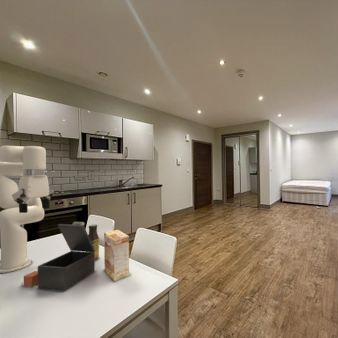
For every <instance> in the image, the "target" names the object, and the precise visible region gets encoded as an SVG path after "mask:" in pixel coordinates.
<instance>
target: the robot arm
mask: <svg viewBox="0 0 338 338" xmlns="http://www.w3.org/2000/svg"><path fill="white" fill-rule="evenodd" d="M47 173H48V170H47V151H46V148H45V147H43V146H37V145H25V146H21V145H1V146H0V208H1V209H3V210H1V211H0V274H7V273H11V272H15V271H18V270H22V269H24V268H26V267H29V265H31V264H32V260H31V259H30V258H28V232H27V230H26V229H25V228H24V227H22V225H27V224H32V223H38V222H40V221H42V220H43V219H44V218H45V209H49V208H50V200H51V199H52V197H53V196H54V192H55V189H53V188H51V187H50V184H49V183H50V182H49V178H48V175H47ZM9 177H20V178H19V182H18V183H17V182H16V181H14V180H13V179H11V178H9ZM41 198H42V199H41Z"/></svg>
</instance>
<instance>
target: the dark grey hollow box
mask: <svg viewBox="0 0 338 338" xmlns="http://www.w3.org/2000/svg"><path fill="white" fill-rule="evenodd" d="M95 262H96V260H95V253H94V252H84V251H71V250H70V251H68V252H66V253H64V254H62V255H59V256H57V257H55V258H52V259H51V260H48V261H46V262H43V263H42V264H39V265H38V266H37V271H38V284H37V289H39V290H48V291H49V290H50V291H59V292H66V291H68V290H69V289H71V288H72V287H74V286H75V285H77V284H78V283H80V282H81V281H83V280H84V279H86V278H88V277H90V276H91V275H92V274H94V273H95V271H96V269H95V267H96V266H95V265H96V264H95Z"/></svg>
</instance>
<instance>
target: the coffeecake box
mask: <svg viewBox="0 0 338 338" xmlns="http://www.w3.org/2000/svg"><path fill="white" fill-rule="evenodd" d="M129 239H130V236H129V235H128V234H126V233H124V232H123V231H121V230H120V229H115V230H109V231H104V232H103V244H104V245H103V246H104V247H103V250H104V251H103V253H104V255H103V256H104V257H103V259H104V272H106V274H107V275H108V276H109V277H110V278H111V280H113V281H114V282H116V281H119V280H121V279H123V278H127V277H129V276H130V240H129Z"/></svg>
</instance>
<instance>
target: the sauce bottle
mask: <svg viewBox="0 0 338 338" xmlns="http://www.w3.org/2000/svg"><path fill="white" fill-rule="evenodd" d="M87 234H88V236H89V238H90V241H91V243H92V245H93V247H94V249H95V252H94V253H95V261H97V260H98V259H99V258H100V257H99V256H100V237H99V234H98V224H96V223H94V224H89V225H88V233H87Z"/></svg>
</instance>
